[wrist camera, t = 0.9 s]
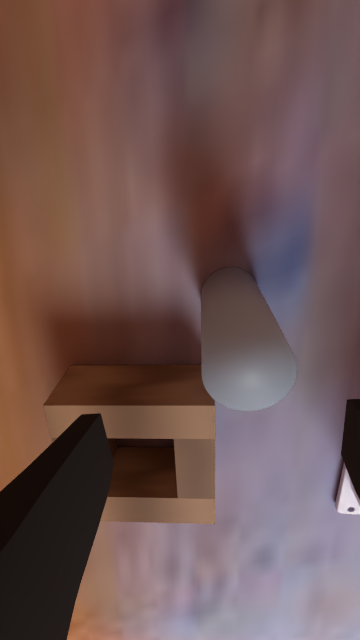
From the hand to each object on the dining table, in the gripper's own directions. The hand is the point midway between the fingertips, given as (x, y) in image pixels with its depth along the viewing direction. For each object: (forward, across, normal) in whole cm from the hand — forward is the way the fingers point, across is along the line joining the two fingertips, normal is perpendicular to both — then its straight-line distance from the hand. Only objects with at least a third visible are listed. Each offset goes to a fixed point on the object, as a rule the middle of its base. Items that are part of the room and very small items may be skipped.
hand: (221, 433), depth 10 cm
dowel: (+10, -1, -1) cm, 10 cm away
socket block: (+10, +5, +8) cm, 14 cm away
